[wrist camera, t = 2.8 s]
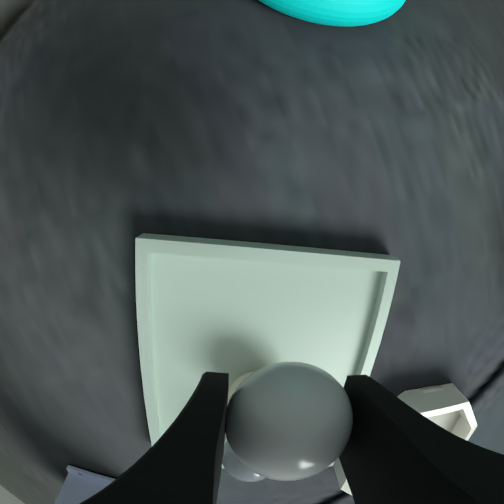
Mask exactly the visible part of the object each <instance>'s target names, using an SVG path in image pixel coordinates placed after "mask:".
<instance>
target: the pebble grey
mask: <svg viewBox="0 0 504 504" xmlns="http://www.w3.org/2000/svg"><path fill="white" fill-rule="evenodd" d="M352 426H353V412H352V406H351V403H350V400H349V397H348V395H347V393H346V391H345V390H344V388H343V387H342V385H341V384H340V383H339V382H338V381H337V380H336V379H335V378H334V377H333V376H332V375H331V374H329V373H328V372H326V371H324V370H323V369H321V368H319V367H317V366H314V365H311V364H308V363H303V362H279V363H275V364H271V365H268V366H265V367H263V368H261V369H259V370H257V371H255V372H253V373H252V374H251V375H249V376H248V377H247V378H246V379H245V380H243V381H242V382H241V383H240V384H239V386H238V387H237V388H236V390H235V391H234V393H233V394H232V396H231V398H230V400H229V403H228V406H227V416H226V425H225V433H226V437H227V441H228V443H229V445H230V448H231V450H232V452H233V453H234V454H235V456H236V457H237V458H238V460H239V461H240V462H241V463H242V464H243V465H244V466H246V467H247V468H248V469H250V470H251V471H253V472H255V473H256V474H258V475H260V476H263V477H266V478H269V479H273V480H281V481H292V480H300V479H304V478H308V477H310V476H313V475H315V474H318V473H320V472H321V471H323V470H325V469H326V468H327V467H329V466H330V465H331V464H332V463H333V462H335V461H336V460H337V458H338V457H339V456H340V455H341V453H342V452H343V451H344V449H345V447H346V445H347V443H348V441H349V439H350V436H351V432H352Z"/></svg>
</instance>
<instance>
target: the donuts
mask: <svg viewBox="0 0 504 504" xmlns="http://www.w3.org/2000/svg"><path fill="white" fill-rule="evenodd" d="M259 1H260V2H262V3H264V4H265V5H267V6H269V7H271V8H273V9H275V10H277V11H279V12H281V13H284V14H286V15H289V16H291V17H294V18H297V19H301V20H304V21H308V22H312V23H317V24H323V25H330V26H362V25H368V24H372V23H375V22H378V21H381V20H384V19H386V18H388V17H389V16H391V15H392V14H394V13H395V12H396V11H397V10H398V9H400V8H401V6H402V5H403V4H404V2H405V0H259Z"/></svg>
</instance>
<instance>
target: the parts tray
mask: <svg viewBox="0 0 504 504" xmlns="http://www.w3.org/2000/svg"><path fill="white" fill-rule="evenodd" d="M399 266H400V260H398V259H396V258H395V257H393V256H391V255H386V254H376V253H366V252H355V251H345V250H334V249H324V248H313V247H302V246H291V245H280V244H268V243H257V242H246V241H234V240H222V239H211V238H199V237H186V236H174V235H162V234H149V233H143V234H141V235H139V236H138V237H136V238H135V277H136V309H137V327H138V342H139V354H140V365H141V375H142V384H143V392H144V400H145V407H146V414H147V421H148V427H149V433H150V439H151V445H152V446H153V445H154V444H155V443H156V442H157V441H158V440H159V438H160V437H161V436H162V435H163V434H164V432H165V431H166V430H167V429H168V428H169V426H170V425H171V424H172V423H173V422H174V420H175V419H176V418H177V416H178V415H179V413H180V412H181V411H182V409H183V408H184V406H185V405H186V404H187V402H188V401H189V399H190V397H191V396H192V394H193V392H194V391H195V389H196V387H197V385H198V383H199V381H200V379H201V377H202V374H204V373H205V372H218V373H229V386H230V385H231V384H232V382H233V381H234V380H236V379H237V378H238V377H239V376H241V375H243V374H245V373H248V372H252V371H257V370H259V369H261V368H263V367H265V366H268V365H271V364H275V363H279V362H303V363H308V364H311V365H314V366H317V367H319V368H321V369H323V370H324V371H326V372H328V373H329V374H331V375H332V376H333V377H334V378H335V379H336V380H337V381H338V382H339V383H340V384H341V385H342V387H343V388H344V384H345V381H346V378H347V375H367V376H370V373H371V370H372V367H373V364H374V361H375V358H376V355H377V352H378V348H379V345H380V342H381V338H382V335H383V331H384V328H385V324H386V321H387V317H388V313H389V309H390V305H391V301H392V297H393V293H394V289H395V284H396V280H397V275H398V271H399ZM226 441H227V437H226V433H225V442H226ZM224 444H225V443H224ZM334 463H335V462H333V463H332V464H331V465H330V466H333V465H334ZM222 468H224V467H223V464H222Z"/></svg>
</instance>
